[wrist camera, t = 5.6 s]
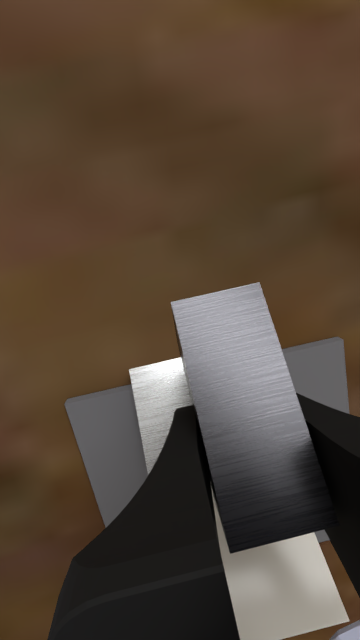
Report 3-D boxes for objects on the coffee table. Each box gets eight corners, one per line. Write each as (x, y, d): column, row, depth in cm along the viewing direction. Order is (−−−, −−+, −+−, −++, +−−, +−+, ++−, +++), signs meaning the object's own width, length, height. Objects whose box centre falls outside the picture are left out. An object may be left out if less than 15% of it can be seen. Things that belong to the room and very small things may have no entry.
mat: (127, 582, 22) (126, 591, 21) (67, 399, 18) (64, 404, 17) (353, 524, 22) (358, 532, 22) (337, 336, 19) (343, 339, 18)
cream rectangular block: (173, 464, 19) (206, 653, 14) (169, 454, 18) (203, 659, 13) (270, 440, 19) (337, 618, 14) (273, 429, 18) (349, 621, 13)
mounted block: (132, 372, 18) (154, 488, 16) (71, 324, 9) (105, 585, 7) (270, 340, 18) (305, 451, 16) (354, 260, 9) (456, 495, 7)
